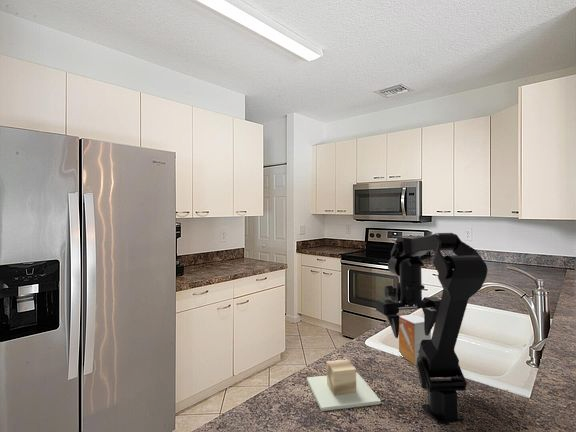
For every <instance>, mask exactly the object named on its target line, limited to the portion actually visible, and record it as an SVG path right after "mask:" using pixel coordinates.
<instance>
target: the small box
mask: <svg viewBox="0 0 576 432" xmlns="http://www.w3.org/2000/svg"><path fill="white" fill-rule="evenodd" d="M399 316H400V317H399V335H398V353H399V352H400V353H401V355H402V356H403V357H404V359H405V360H406V361H408V362H410V363H411V364H412V365H414V366H417V358H418V355H419V353H418V351H419V349H420V343H421V341H422V340H430V339H431V338H432V330H431V331H430V333H429V335H428V336H427V335H425V331H424V317H421V316H419V315H416V314H405V315H399ZM402 356H401V357H402ZM403 357H402V358H403Z"/></svg>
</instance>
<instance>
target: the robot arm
mask: <svg viewBox="0 0 576 432" xmlns="http://www.w3.org/2000/svg"><path fill="white" fill-rule="evenodd" d="M447 251H448V252H450V251H452V252H453V254H455V255H445V256H443V254H442V252H447ZM427 252H433V254H434V255H433V258H432V264H433V267H434V268H435V269H436V271H437V274H438V275H437V278H438V281H439V283H440V284H441V287H442V294H441V297H436V296H426V297H425V296H424V297H423V293H422V291H423V290H425V285H423V284H422V282H423V281H422V279H423V278H422V267H424V266H425V264H424V262H423V261H422V260H421V259H420V258H421V257H422V256H424V255H427ZM387 270H388V271H389V272H390V273H392V274H393V275H395V276H398V277H399V282H397V284H396V288H395V287H394V286H393V285H386V286H384V296H385V298H390V299H378V300H377V301H376V303H375V310H376V311H377V312H379V313H380V314H382V315H384V316H385V317H386V319H387V320H388V323H389V325H390V327H391V331H392V334H393V336H394V338H395V339H399V317H400V316H401V315H399V314H398V313H399V312H400V310H401V311H402V310H404V311H405V310H416V309H422V310H421V311H422V312H423V313H422V314H423V318H424V331H425V335H427V336H428V335H429V333H430V331H431V332H432V333H431V339H430V340H422V341H421V343H420V349H419V351H418V353H419V355H418V358H417V365H416V368H417V373H418V380H419V383H420V387H421V389H424V390H426V391H427V404H422V407H421V408H422V409H423V410H425V411H426V412H427V414H428V415H429V416H430V417H431V418H433V420H434V421H436V423H438V424H443V423H444V424H445V423H451V422H452V423H453V422H457V421H458V422H459V421H464V420H465V416H463V415H462V414H461V413H460V412H459V411H458V410H459V409H458V392H460V391H462V392H463V391H464V392H465V391H466V390H467V385H468V384H467V380H466V379H465V377H464V374H463V371H462V369H461V366H460V359H459V357H458V356H457V354H456V351H455V347H456V345H457V340H458V336H459V333H460V332H461V331H460V330H461V327H462V323H463V320H464V317H465V313H466V310H467V305H468V302H469V300H470V298H471V297H472V296H475V294H476V293H478V292H479V291H480V290H481V289H482V287H483V285H484V283H485V281H486V280H487V279H486V278H487V276H488V266H487V264H486V262H485V261H484V259H483V258H482V256H481V255H480V254H479V253H478V251H477V249H475V248H473V247H472V246H470V245H469V244H467V243H466V242H463V240H462V239H460V238H459V235H457V234H456V233H453V232H436V233H433V234H429V235H424V236H423V235H399V236H397V238H396V240H395V241H394V244H393V246H392V249H391V251H390V259H389V260H388V262H387ZM395 301H397V302H395ZM432 329H433V330H432ZM457 391H458V392H457Z"/></svg>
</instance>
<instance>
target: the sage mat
mask: <svg viewBox="0 0 576 432" xmlns="http://www.w3.org/2000/svg"><path fill="white" fill-rule="evenodd" d="M306 382H307V384H308V386H309V388H310V390H311V392H312V394H313V397H314V399H315V401H316V403H317V406H318V407H319V409H320V412H325V411H326V412H327V411H334V410H343V409H351V408H360V407H365V406H366V407H368V406H375V405H381V404H382V401H381V399H380V398H379V397H378V396H377V394H376V393H375V391H373V390H372V388H371V387H370V386H369V384H368V383H367V382H366V380H364V378H363V377H362V376H361V375H360V374H359V372H357V371H356V393H352V394H343V395H333V393H332V391H331V390H330V388H329V386H328V385H327V375H318V376H309V377H306Z"/></svg>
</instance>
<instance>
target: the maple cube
mask: <svg viewBox="0 0 576 432" xmlns="http://www.w3.org/2000/svg"><path fill="white" fill-rule="evenodd" d="M356 372H357V369H356V367H355V366H354V365H353V364H352V362H351V361H350V360H349V359H347V358H346V359H336V360H328V361H327V360H326V376H327V385H328V386H329V388H330V390H331V391H332V393H333V395H343V394H352V393H356Z"/></svg>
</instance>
